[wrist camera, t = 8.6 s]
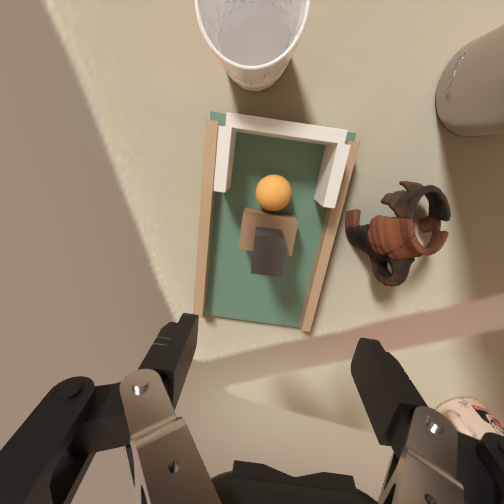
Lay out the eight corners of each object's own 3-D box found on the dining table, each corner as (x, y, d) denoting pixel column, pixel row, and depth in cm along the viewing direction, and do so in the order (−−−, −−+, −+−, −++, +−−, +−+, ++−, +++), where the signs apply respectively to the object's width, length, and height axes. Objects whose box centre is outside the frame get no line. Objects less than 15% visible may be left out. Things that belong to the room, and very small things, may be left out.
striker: (294, 214, 31) (308, 239, 22) (287, 244, 33) (298, 281, 23) (245, 207, 31) (238, 229, 22) (241, 238, 33) (232, 271, 23)
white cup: (275, 109, 29) (281, 88, 19) (207, 79, 28) (180, 42, 18) (306, 27, 26) (331, -45, 17) (232, -9, 25) (216, -106, 16)
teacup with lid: (496, 416, 44) (574, 503, 33) (446, 440, 46) (504, 529, 35) (459, 376, 41) (532, 456, 30) (409, 404, 43) (459, 488, 32)
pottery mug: (339, 187, 32) (403, 174, 24) (392, 189, 36) (460, 179, 28) (339, 283, 33) (399, 298, 26) (390, 275, 37) (455, 287, 29)
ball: (288, 218, 28) (286, 206, 32) (296, 182, 26) (293, 173, 30) (252, 213, 28) (254, 202, 32) (257, 176, 26) (258, 168, 30)
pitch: (353, 133, 29) (374, 129, 24) (304, 324, 38) (312, 353, 33) (212, 113, 29) (200, 103, 23) (197, 309, 38) (187, 336, 32)
